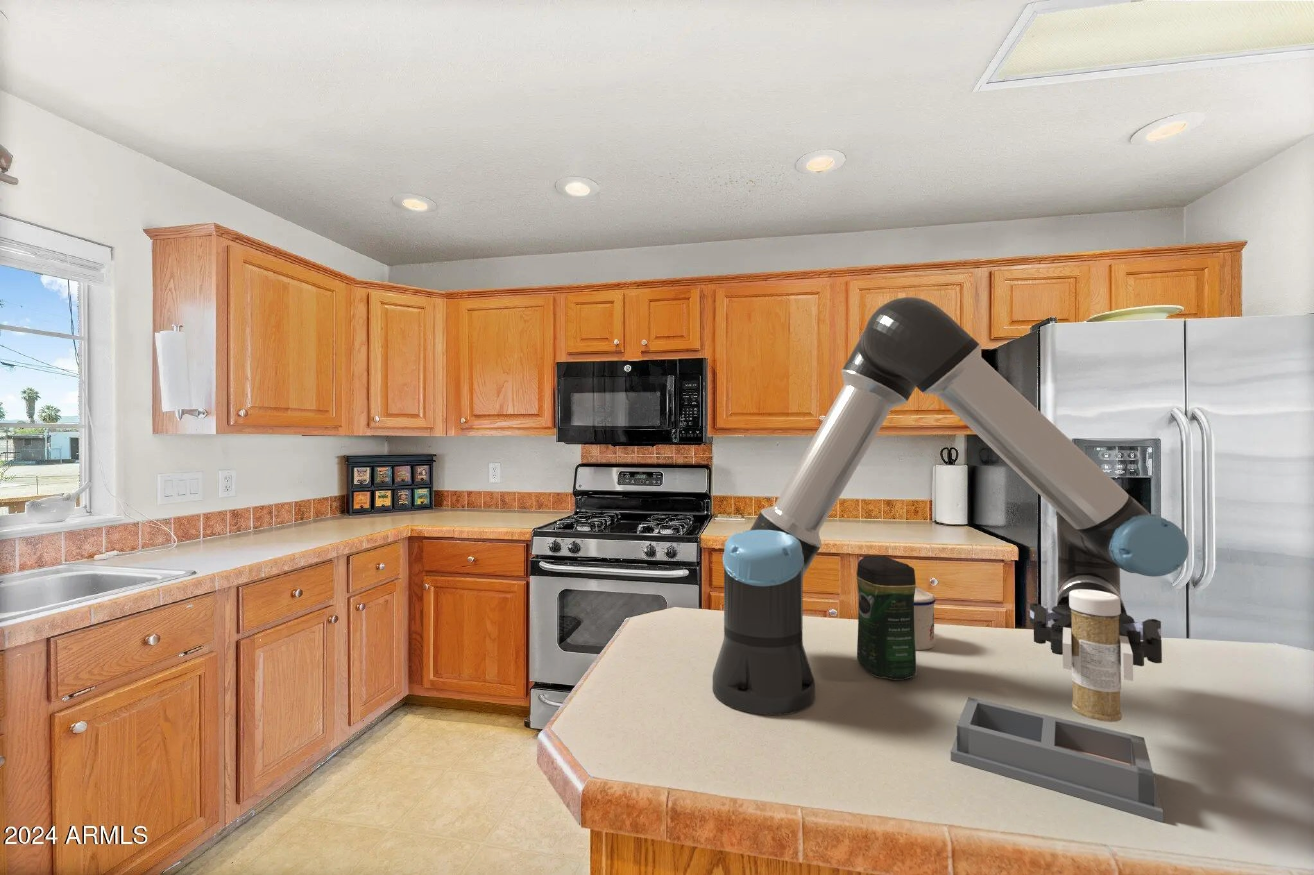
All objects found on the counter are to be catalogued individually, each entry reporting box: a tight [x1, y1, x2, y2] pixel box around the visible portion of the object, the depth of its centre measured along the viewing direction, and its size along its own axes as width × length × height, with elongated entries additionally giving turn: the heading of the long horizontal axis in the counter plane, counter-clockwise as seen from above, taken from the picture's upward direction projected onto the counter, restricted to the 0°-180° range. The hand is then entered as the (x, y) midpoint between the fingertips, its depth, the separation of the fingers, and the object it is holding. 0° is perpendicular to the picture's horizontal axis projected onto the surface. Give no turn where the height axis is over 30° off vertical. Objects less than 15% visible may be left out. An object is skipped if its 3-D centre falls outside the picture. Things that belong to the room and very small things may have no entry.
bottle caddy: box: [950, 696, 1164, 823], centre depth 66 cm, size 19×11×4 cm, turn 54°
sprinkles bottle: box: [1069, 589, 1123, 723], centre depth 63 cm, size 5×5×14 cm
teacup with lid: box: [914, 585, 936, 651], centre depth 109 cm, size 12×9×12 cm
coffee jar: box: [856, 555, 917, 681], centre depth 94 cm, size 10×8×19 cm
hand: (1096, 661), depth 59 cm, fingers closed on sprinkles bottle, 4 cm apart
